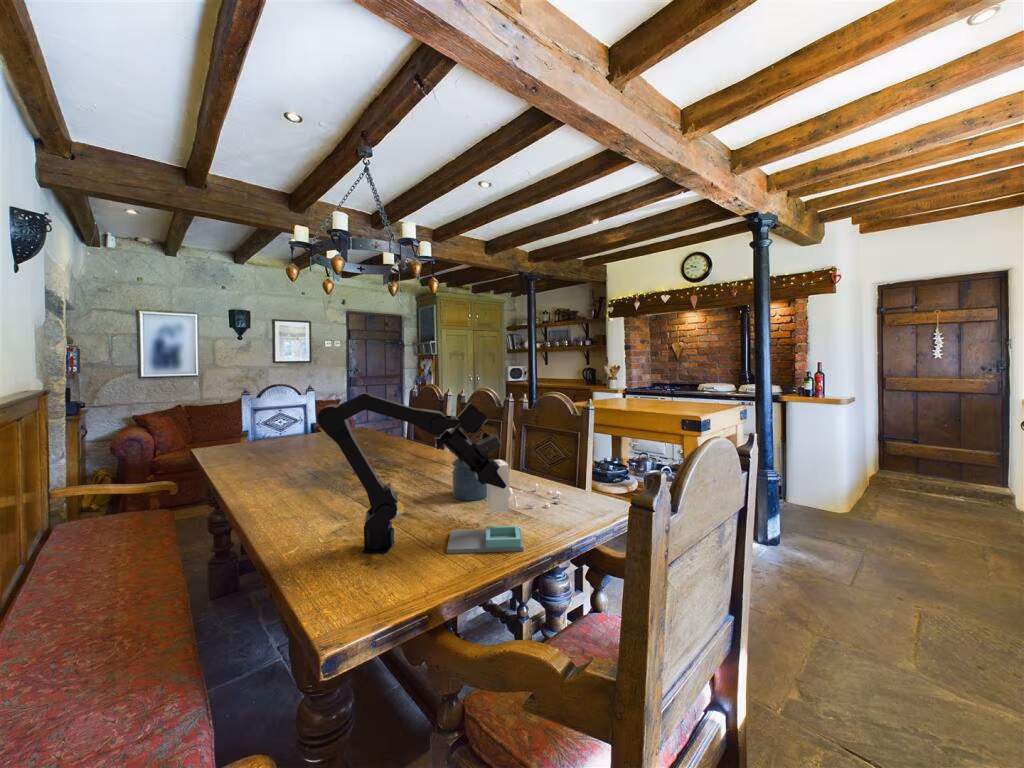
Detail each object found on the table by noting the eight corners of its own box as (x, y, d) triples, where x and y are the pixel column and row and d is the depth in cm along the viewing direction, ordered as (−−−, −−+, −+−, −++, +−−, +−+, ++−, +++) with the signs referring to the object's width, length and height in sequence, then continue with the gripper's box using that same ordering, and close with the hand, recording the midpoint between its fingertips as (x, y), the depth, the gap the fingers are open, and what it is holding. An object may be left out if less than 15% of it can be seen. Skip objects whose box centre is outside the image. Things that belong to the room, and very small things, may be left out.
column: (491, 512, 114) (490, 463, 113) (487, 506, 119) (486, 459, 118) (509, 510, 115) (508, 462, 114) (504, 504, 120) (504, 457, 119)
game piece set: (492, 500, 145) (492, 489, 145) (532, 488, 159) (532, 477, 159) (535, 515, 131) (535, 503, 131) (574, 499, 145) (574, 488, 145)
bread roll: (403, 507, 139) (403, 495, 139) (403, 517, 130) (403, 504, 130) (377, 509, 137) (377, 497, 137) (375, 519, 128) (374, 506, 128)
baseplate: (446, 553, 105) (446, 541, 105) (451, 533, 117) (451, 522, 117) (523, 551, 106) (523, 539, 106) (520, 531, 118) (520, 520, 118)
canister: (445, 498, 146) (444, 448, 145) (463, 488, 158) (462, 441, 157) (478, 503, 141) (478, 450, 140) (495, 492, 153) (494, 443, 152)
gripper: (491, 430, 105) (533, 470, 109) (476, 420, 123) (513, 455, 127) (459, 463, 104) (503, 504, 107) (449, 448, 122) (487, 483, 125)
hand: (502, 484), depth 117 cm, fingers closed on column, 5 cm apart
